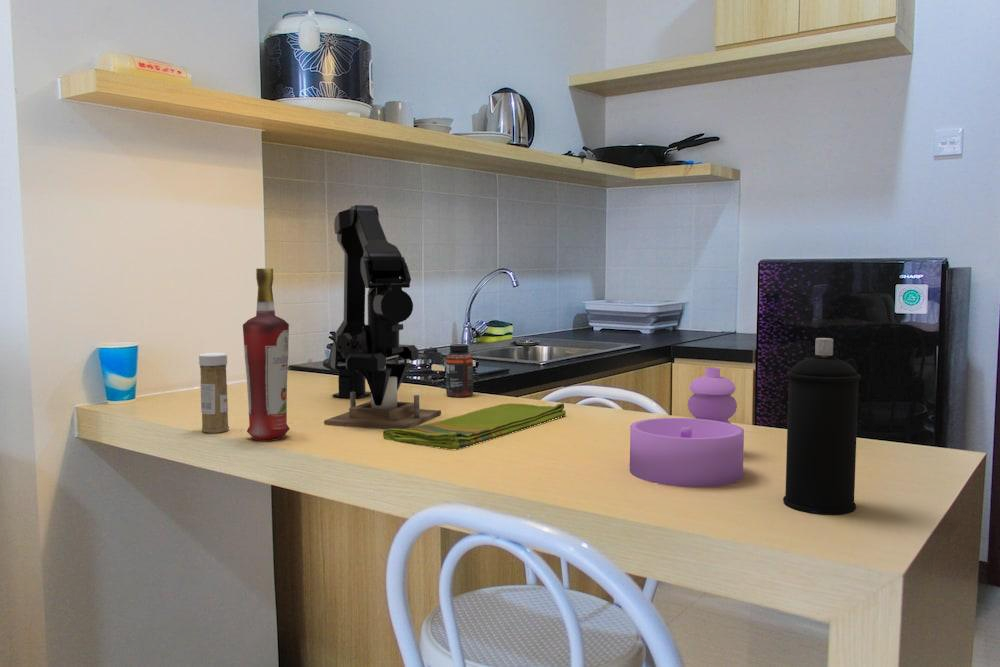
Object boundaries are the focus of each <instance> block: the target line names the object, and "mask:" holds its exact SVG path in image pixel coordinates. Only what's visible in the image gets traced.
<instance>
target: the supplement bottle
mask: <svg viewBox="0 0 1000 667" xmlns="http://www.w3.org/2000/svg"><path fill="white" fill-rule="evenodd" d="M473 361H474V357H473V355H472V354H471V353H470V352H469V344H468V343H452V344H450V345H449V353H448V354H447V355H446V357H445V382H446V383H445V385H446V386H445V387H446V388H445V392H446V396H448V397H450V398H451V397H453V398H467V397H471V396H473V394H474V362H473Z"/></svg>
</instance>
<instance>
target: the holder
mask: <svg viewBox="0 0 1000 667" xmlns="http://www.w3.org/2000/svg"><path fill="white" fill-rule="evenodd" d="M349 400H350V403H349V404H350V408H348V412H345V413H342V414H341V413H340V414H338V415H336V416H333V417H330V418H327V419H325V420H324V425H327V426H340V427H354V428H367V429H381V430H382V429H383V430H388V429H406V428H411V427H416V426H420V425H422V424H423V423H425V422H428V421H430V420H432V419H434V418H436V416H437V417H438V415H439V416H441V415H442V410H440V409H424V408H423V409H421V408H420V395H419V394H415V395H413V402H411V401H410V402H409V401H408V402H407V401H397V408H395V409H378V408H371V400H370V401H367V402H364V403H362V404H359V405H357V401H356V400H357V398H356V392H350V398H349ZM440 414H441V415H440Z"/></svg>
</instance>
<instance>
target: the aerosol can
mask: <svg viewBox="0 0 1000 667" xmlns="http://www.w3.org/2000/svg"><path fill="white" fill-rule="evenodd" d="M814 345H815V347H814V351H815V352H814V355H812V357H808V358H804V359H803V360H800V361H798V362H797V363H796V364H794V365H793V366H792V367H791V370H788V371H787V372H786V376H787V377H788V390H787V391H788V392H787V393H788V394H787V396H788V397H787V398H788V399H787V422H786V423H787V428H786V430H787V433H786V459H785V461H786V463H785V494H784V496H783V498H782V501H783V503H784V505H786V506H787V507H789V508H791V509H794V510H795V511H796V510H797V511H799V512H804V513H810V514H819V515H844V514H849V513H852V512H854V511H855V510H856V509H857V505H856V503H855V490H856V489H855V487H856V485H855V484H856V483H855V482H856V463H857V462H856V459H857V454H856V453H857V432H858V430H857V428H858V402H859V381H860V380H861V379H862V375H861V374H859V373H857V371H856V369H855V368H854V367H853V366H852V365H851V364H850V363H849V362H846V361H845V360H842V359H839V358H837V357H836V356H835V355H834V338H831V337H816V338H815V344H814ZM833 355H834V356H833Z"/></svg>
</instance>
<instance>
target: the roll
mask: <svg viewBox="0 0 1000 667" xmlns="http://www.w3.org/2000/svg"><path fill="white" fill-rule="evenodd" d="M370 401H371V408H378V409H395V408H397V402H398V391H397V377H394V376H390V377H389V380H388V384H387V387H386V391H385V395H384V398H383V401H382V404H381V405H380V406H377V405H375V403H374V400H373V397H372V394H370Z"/></svg>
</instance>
